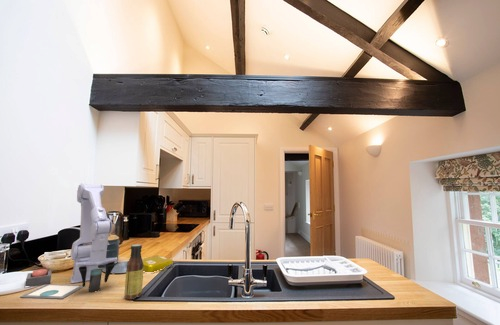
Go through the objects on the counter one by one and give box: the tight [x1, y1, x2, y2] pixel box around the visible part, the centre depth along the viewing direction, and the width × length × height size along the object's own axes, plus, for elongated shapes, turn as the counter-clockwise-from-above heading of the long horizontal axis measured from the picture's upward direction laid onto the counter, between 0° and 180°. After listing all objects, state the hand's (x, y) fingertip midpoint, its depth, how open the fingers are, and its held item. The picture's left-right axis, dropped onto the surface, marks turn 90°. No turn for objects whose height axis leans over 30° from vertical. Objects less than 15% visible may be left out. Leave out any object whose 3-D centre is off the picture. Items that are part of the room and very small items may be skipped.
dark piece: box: [87, 268, 103, 293], centre depth 96 cm, size 4×4×8 cm
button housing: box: [24, 269, 53, 287], centre depth 100 cm, size 8×8×4 cm
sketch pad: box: [19, 283, 86, 300], centre depth 92 cm, size 16×12×1 cm
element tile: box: [142, 255, 173, 272], centre depth 126 cm, size 15×15×5 cm
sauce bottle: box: [123, 243, 144, 300], centre depth 92 cm, size 7×6×20 cm
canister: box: [98, 233, 121, 269], centre depth 129 cm, size 13×13×18 cm
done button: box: [31, 268, 48, 277], centre depth 101 cm, size 5×5×3 cm
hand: (94, 283), depth 95 cm, fingers open, 7 cm apart
